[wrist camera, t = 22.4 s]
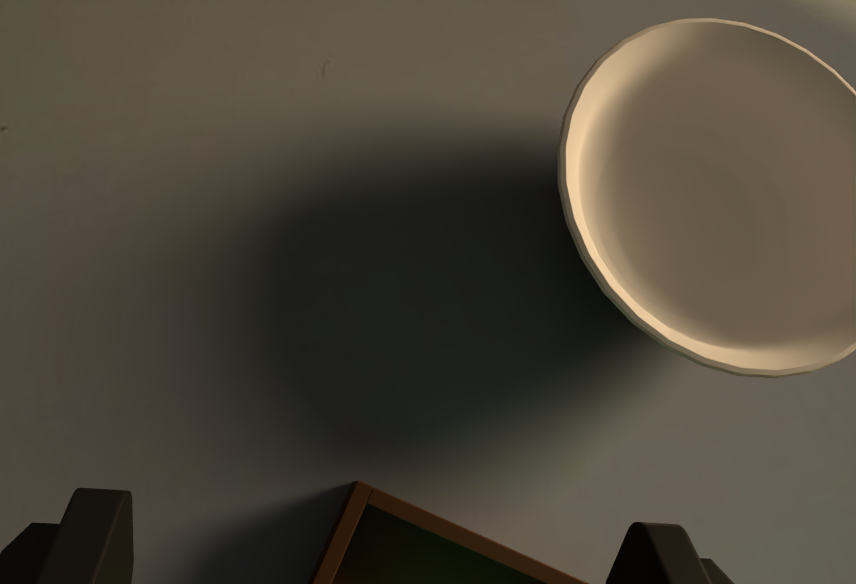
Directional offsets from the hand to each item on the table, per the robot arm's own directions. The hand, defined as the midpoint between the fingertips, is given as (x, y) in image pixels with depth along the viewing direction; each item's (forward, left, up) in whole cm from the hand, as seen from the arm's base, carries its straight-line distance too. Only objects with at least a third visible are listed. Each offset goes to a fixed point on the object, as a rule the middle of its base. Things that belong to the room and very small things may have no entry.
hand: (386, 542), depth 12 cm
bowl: (+26, 0, -26) cm, 37 cm away
